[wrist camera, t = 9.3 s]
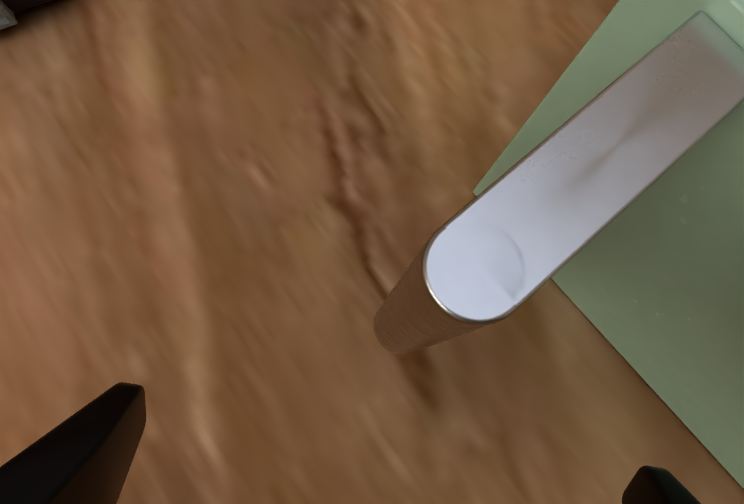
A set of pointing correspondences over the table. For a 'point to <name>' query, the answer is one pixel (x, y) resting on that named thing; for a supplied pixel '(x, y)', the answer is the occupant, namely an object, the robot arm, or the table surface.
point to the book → (14, 10)
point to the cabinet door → (616, 215)
